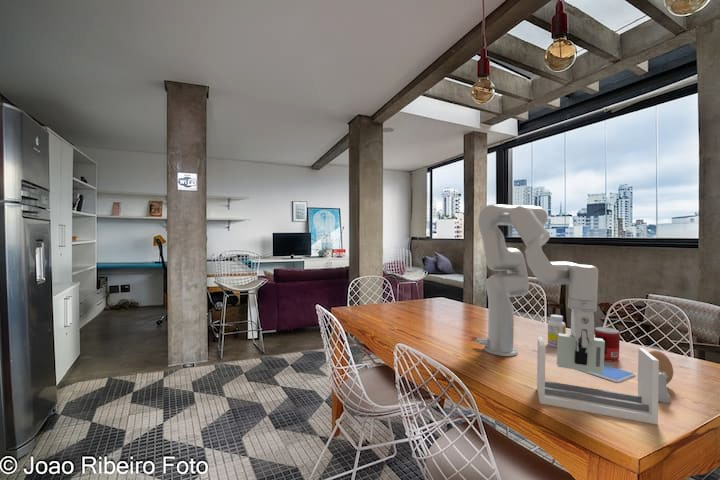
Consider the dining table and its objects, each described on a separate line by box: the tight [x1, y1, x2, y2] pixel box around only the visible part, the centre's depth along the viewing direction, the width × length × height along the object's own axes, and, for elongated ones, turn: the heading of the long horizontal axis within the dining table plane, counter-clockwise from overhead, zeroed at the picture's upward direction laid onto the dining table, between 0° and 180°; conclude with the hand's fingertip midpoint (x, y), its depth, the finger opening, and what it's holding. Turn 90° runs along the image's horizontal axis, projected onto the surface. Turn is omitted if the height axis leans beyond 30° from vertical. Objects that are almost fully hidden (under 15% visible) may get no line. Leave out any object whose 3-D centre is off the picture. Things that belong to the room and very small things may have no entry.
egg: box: [648, 350, 674, 385], centre depth 107 cm, size 8×8×11 cm
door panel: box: [556, 333, 605, 374], centre depth 106 cm, size 12×3×10 cm, turn 66°
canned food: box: [594, 326, 621, 362], centre depth 131 cm, size 8×8×11 cm
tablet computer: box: [579, 364, 636, 384], centre depth 119 cm, size 19×13×1 cm, turn 28°
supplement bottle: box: [547, 314, 567, 348], centre depth 146 cm, size 7×7×13 cm
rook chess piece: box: [658, 371, 672, 404], centre depth 97 cm, size 4×4×8 cm
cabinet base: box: [536, 336, 659, 425], centre depth 93 cm, size 26×10×16 cm, turn 66°
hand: (579, 361), depth 106 cm, fingers closed on door panel, 3 cm apart
